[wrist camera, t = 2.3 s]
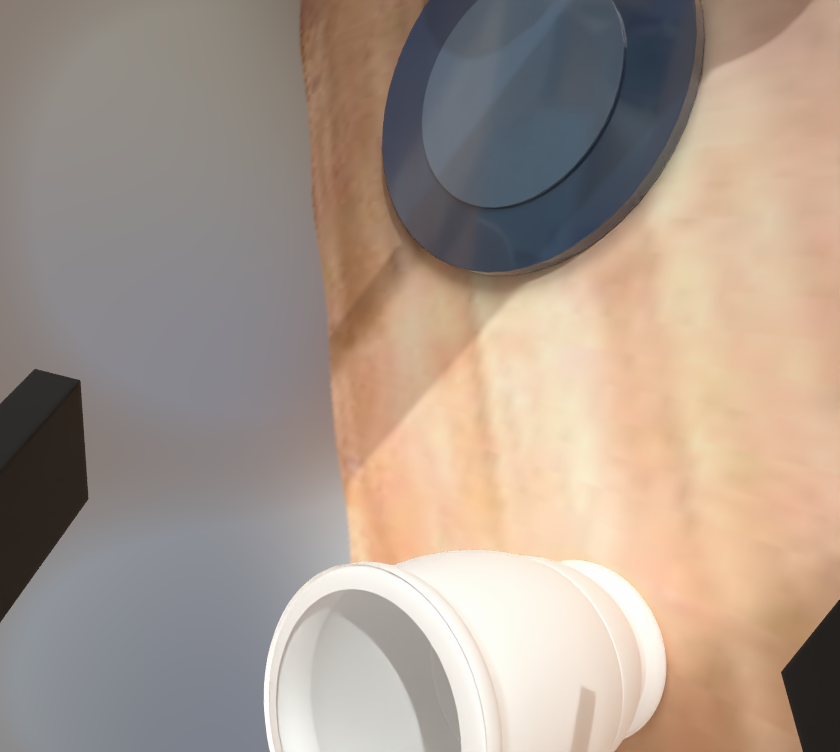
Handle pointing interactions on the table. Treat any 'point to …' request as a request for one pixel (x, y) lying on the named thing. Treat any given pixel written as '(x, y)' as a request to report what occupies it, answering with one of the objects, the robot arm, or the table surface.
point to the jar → (463, 658)
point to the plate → (535, 123)
